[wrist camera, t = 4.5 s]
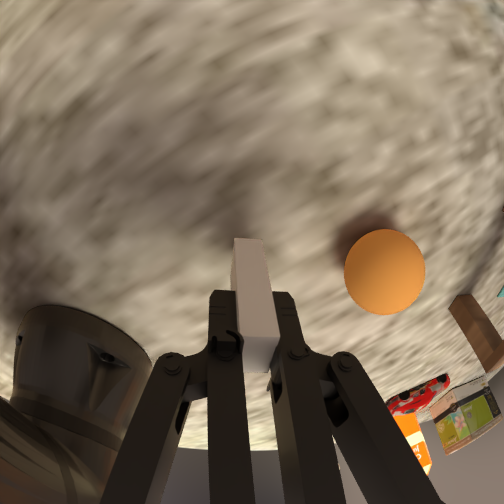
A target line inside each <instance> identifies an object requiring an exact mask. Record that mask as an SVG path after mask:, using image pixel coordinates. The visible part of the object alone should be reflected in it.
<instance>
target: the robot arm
mask: <svg viewBox="0 0 504 504" xmlns="http://www.w3.org/2000/svg"><path fill="white" fill-rule="evenodd" d="M230 280H231V291H230V290H214V291H213V293H212V294H211V296H210V300H209V328H208V343H207V345H206V347H205V348H204V349H203V350H202V351H201V352H199V353H197V354H194V355H190V356H186V357H184V356H183V355H181V354H179V353H173V352H170V353H165V354H163V355H162V356H160V357H159V358H158V360H157V361H156V363H155V365H154V367H153V370H152V365H151V362H150V360H149V358H148V357H147V355H146V354H145V352H144V351H143V350H142V349H141V348H140V347H139V346H138V345H137V344H136V343H135V342H134V341H133V340H132V339H130V338H129V337H128V336H126V335H125V334H124V333H122V332H121V331H119V330H118V329H116V328H114V327H113V326H111V325H109V324H108V323H106V322H104V321H102V320H100V319H98V318H95V317H93V316H91V315H88V314H86V313H83V312H80V311H77V310H74V309H70V308H66V307H61V306H51V305H46V306H39V307H35V308H33V309H31V310H30V311H29V312H28V313H27V314H26V315H25V317H24V319H23V321H22V323H21V325H20V327H19V329H18V332H17V336H16V349H15V356H14V372H13V392H12V396H11V399H10V402H9V403H7V402H6V401H5V400H4V399H3V398H2V397H1V396H0V504H160V502H161V499H162V496H163V492H164V489H165V486H166V483H167V479H168V476H169V473H170V469H171V466H172V463H173V460H174V457H175V453H176V450H177V447H178V444H179V441H180V438H181V434H182V431H183V428H184V425H185V422H186V419H187V415H188V412H189V409H190V406H191V403H192V401H194V400H198V399H202V398H206V397H207V411H208V460H209V461H208V462H209V488H210V504H255V495H254V484H253V474H252V464H251V454H250V443H249V432H248V420H247V409H246V397H245V384H244V373H268V371H269V369H270V370H271V378H270V381H269V383H268V386H267V391H269V390H270V392H271V400H272V407H273V415H274V422H275V430H276V438H277V445H278V452H279V461H280V468H281V475H282V484H283V491H284V499H285V504H346V500H345V495H344V489H343V484H342V480H341V474H340V470H339V465H338V461H337V455H336V451H335V446H334V441H333V437H334V439H335V441H336V443H337V445H338V447H339V449H340V450H341V453H342V454H343V456H344V458H345V460H346V462H347V464H348V466H349V468H350V470H351V472H352V474H353V476H354V478H355V480H356V482H357V484H358V486H359V487H360V489H361V491H362V493H363V495H364V497H365V499H366V501H367V503H368V504H445V503H444V502H443V501H441V500H440V498H439V496H438V494H437V493H436V490H435V489H434V487H433V485H432V483H431V481H430V480H429V478H428V476H427V474H426V472H425V471H424V469H423V467H422V465H421V464H420V462H419V460H418V458H417V457H416V455H415V453H414V451H413V450H412V448H411V446H410V444H409V443H408V441H407V439H406V438H405V436H404V434H403V433H402V431H401V429H400V427H399V426H398V424H397V422H396V421H395V419H394V417H393V416H392V414H391V412H390V411H389V409H388V407H387V406H386V404H385V402H384V401H383V399H382V398H381V396H380V394H379V393H378V391H377V389H376V388H375V386H374V385H373V383H372V381H371V380H370V378H369V376H368V375H367V373H366V372H365V370H364V368H363V367H362V365H361V364H360V362H359V361H358V359H357V358H356V357H355V356H354V355H353V354H351V353H349V352H344V351H342V352H337V353H336V354H334V355H333V357H331V356H327V355H323V354H319V353H316V352H314V351H312V350H311V349H310V347H309V346H308V345H307V344H306V343H305V341H304V338H303V334H302V330H301V326H300V322H299V318H298V316H297V315H298V314H297V310H296V306H295V302H294V299H293V298H292V297H291V295H290V294H289V293H288V292H275V291H272V290H271V284H270V279H269V274H268V269H267V264H266V258H265V253H264V248H263V243H262V239H246V238H234V246H233V256H232V265H231V275H230ZM332 435H333V437H332Z"/></svg>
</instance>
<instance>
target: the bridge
mask: <svg viewBox="0 0 504 504" xmlns="http://www.w3.org/2000/svg"><path fill="white" fill-rule="evenodd" d="M502 211H503V212H504V208H503V210H502ZM449 311H450V312H451V314H452V315H453V317H454V318H455V320H456V322H457V323H458V325H459V326H460V328H461V330H462V331H463V333H464V334H465V336H466V338H467V340H468V341H469V343H470V345H471V346H472V348H473V350H474V352H475V353H476V355H477V357H478V359H479V361H480V362H481V364H482V366H483V368H484V370H485V372H486V374H487V373H489V372H491V371H493V370H495V369H497V368H499V367H500V366H501V365H502V364H503V363H504V340H502V338H501V337H500V335H499V334H498V332H497V331H496V329H495V327H494V326H493V324H492V323H491V321H490V320H489V318H488V317H487V315H486V314H485V313H484V311H483V310H482V308H481V307H480V305H479V304H478V303H477V301H476V300H475V298H474V297H473V296H472V295H460V296H457V297H456V298H455V300H454V301H453V303H452V304H451V306H450V307H449Z"/></svg>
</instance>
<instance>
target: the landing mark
mask: <svg viewBox="0 0 504 504" xmlns="http://www.w3.org/2000/svg"><path fill="white" fill-rule="evenodd" d="M497 297H504V286H503V288H502V289H501V291H500V293H499V294H498V296H497Z"/></svg>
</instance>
